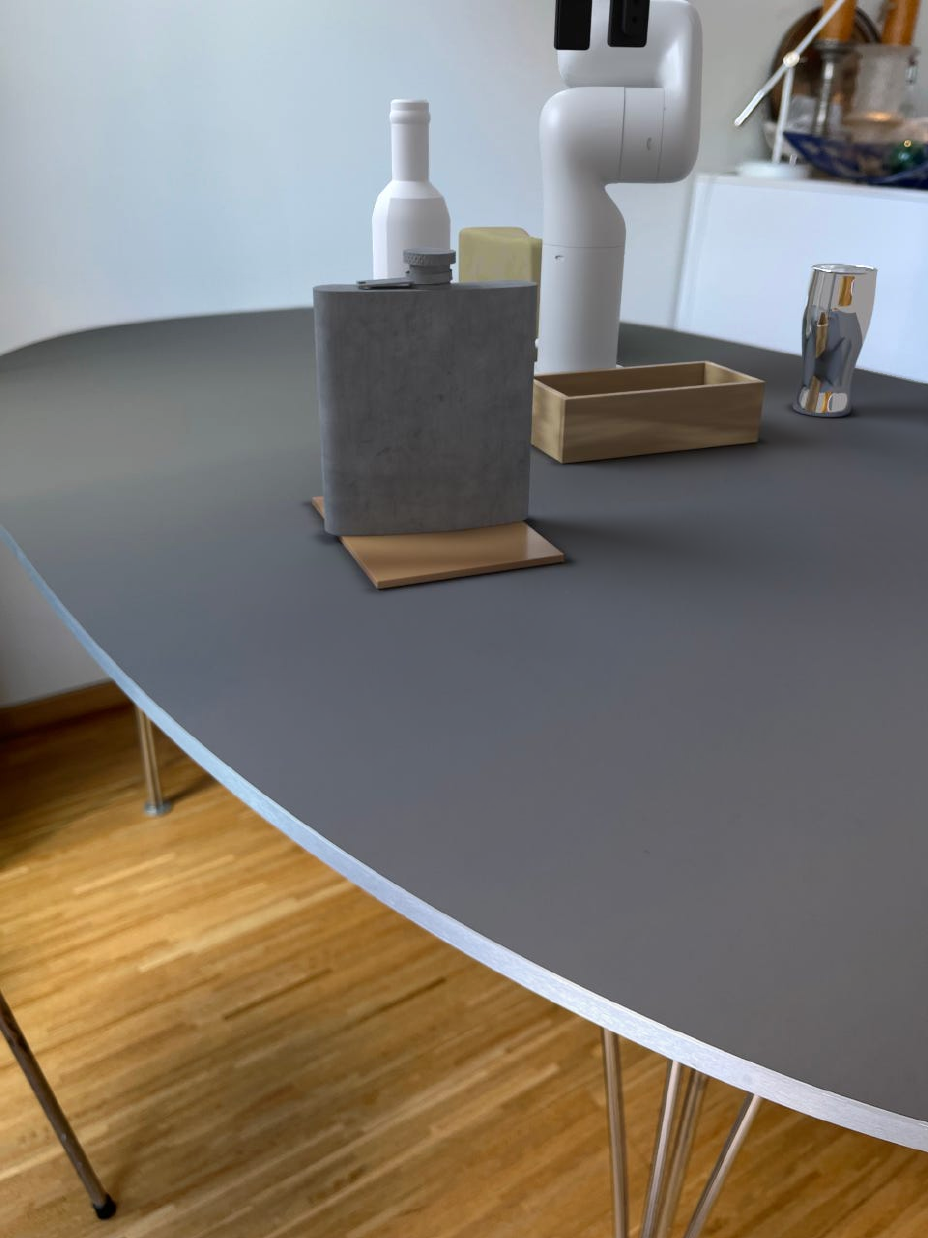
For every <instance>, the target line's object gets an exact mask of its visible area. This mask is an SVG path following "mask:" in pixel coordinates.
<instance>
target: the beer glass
mask: <svg viewBox="0 0 928 1238" xmlns="http://www.w3.org/2000/svg"><path fill="white" fill-rule="evenodd" d="M878 272H879V271H878V268H876V267H873V266H869V265H861V264H853V263H851V264H850V263H818V264H814V265H812V266H811V268H810V274H809V278H808V282H807V286H806V291H805V294H804V295H805V296H804V301H803V307H802V316H801V334H800V335H801V374H800V379H799V385H798V388H797V391H796V394H795V396H794V399H793V403H792V409H793V410H794V412H797V413H799V414H803V415H807V416H812V417H819V418H840V417H846V416H848V415H849V414H850V413H851V410H852V409H851V408H852V407H851V406H852V403H851V400H852V399H851V397H852V396H851V395H852V394H851V391H852V383H853V382H852V381H853V376H854V372H855V369H856V366H857V363H858V360H859V357H860V355H861V352H862V349H863V347H864V344H865V341H866V338H867V335H868V332H869V329H870V325H871V321H872V315H873V311H874V306H875V305H874V304H875V299H876V298H875V297H876V288H877V277H878Z"/></svg>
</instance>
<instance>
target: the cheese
mask: <svg viewBox="0 0 928 1238" xmlns="http://www.w3.org/2000/svg"><path fill="white" fill-rule="evenodd" d="M542 242H543V238H539V237H534V236H531V235H530V234H529V233H528V232H527V231H526V230H525V229H524V228H522V227H519V226H470V227H464V228H462V229H460V231H459V233H458V282H482V281H500V280H525V281H532V282H536V283H537V284H538V291H537V314H536V338H535V340H536V339H538V335H539V312H540V288H541V265H542ZM537 358H538V349H537V348H536V347H535V362H537Z"/></svg>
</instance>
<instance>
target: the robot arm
mask: <svg viewBox="0 0 928 1238" xmlns="http://www.w3.org/2000/svg"><path fill="white" fill-rule="evenodd" d="M554 3H555V5H554V30H553V48H554V50H556V51H557V68H558V72H559V76H560V77H561V80H562V82H563V84H565V86H566V87H568V88H566V89H564V90H560V91H559V92H557V93H555V94H553V95H552V96H551V97H550V98H548V99H547V101H546V103H545V104H544V106H543V108H542V110H541V113H540V118H539V125H538V126H539V127H538V136H539V150H540V151H539V152H540V160H541V171H542V172H541V173H542V191H543V205H542V206H543V208H542V209H543V211H542V212H543V213H542V214H543V216H542V217H543V218H542V240H543V242H542V265H541V288H540V312H539V335H538V339H536V340H535V347H536V348H537V349H538V358H537V362H534V374H543V373H556V372H569V371H581V370H594V369H607V368H619V367H623V366H622V365H619V364H617V358H618V344H619V331H620V320H621V319H620V318H621V309H622V308H621V306H622V292H623V282H624V281H623V280H624V279H623V278H624V267H625V254H626V240H627V227H626V222H625V218H624V216H623V214H622V212H621V210H620V208H619V207H618V205H617V204H616V203H615V202H614V200H613V199H612V197H611V196H610V195H609V194H608V191H607V190H606V186H608V185H612V184H613V185H614V184H616V185H617V184H649V185H653V184H654V185H656V184H660V185H661V184H675V183H678V182H681V181H683V180H685V179H686V178H687V177H688V176H689V175H691V173H692V171H693V170H694V167H695V165H696V162H697V159H698V155H699V149H700V141H701V125H702V124H701V119H702V85H703V83H702V82H703V52H704V51H703V42H704V41H703V27H702V21H701V17H700V15H699V12H698V10H697V8H696V7H695V6H694V5H693V4H692V3H690V2H689V1H688V0H555V2H554Z"/></svg>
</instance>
